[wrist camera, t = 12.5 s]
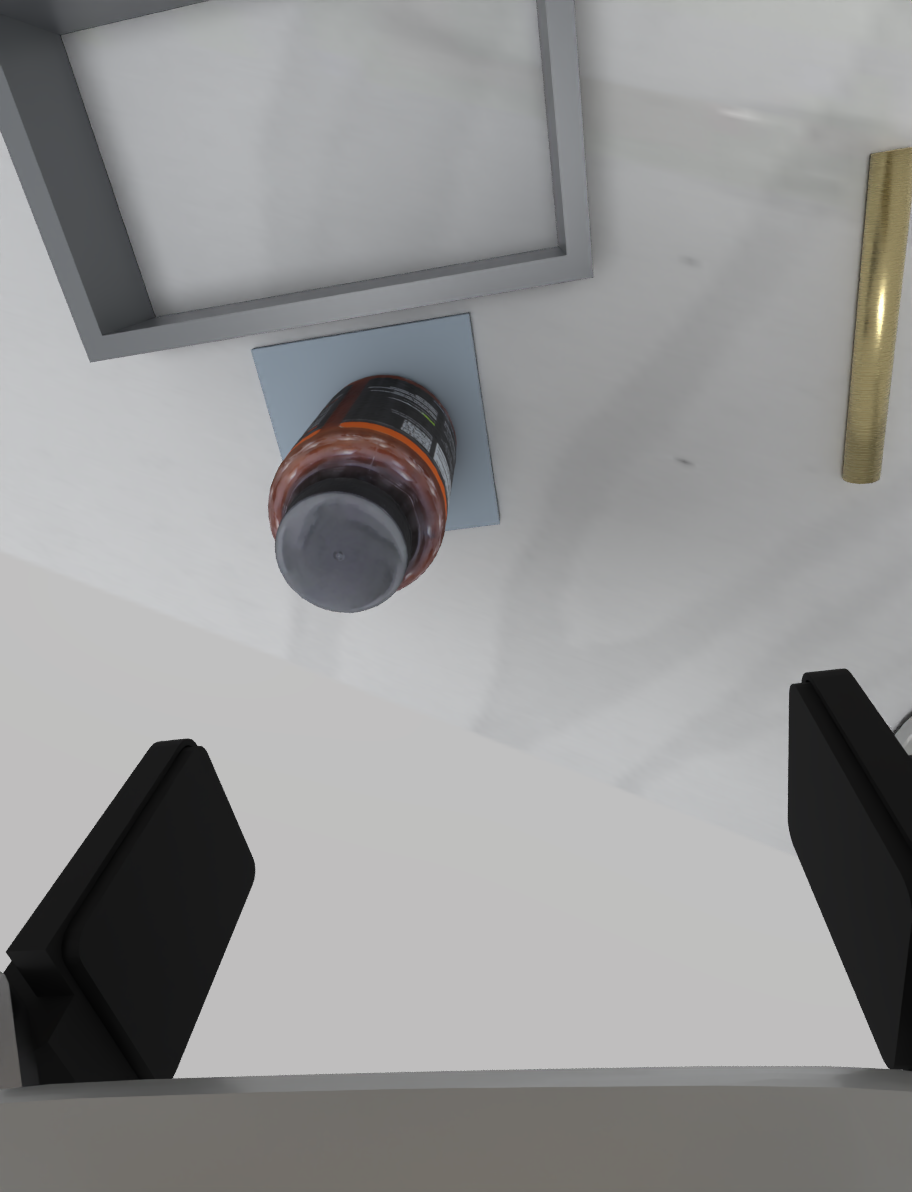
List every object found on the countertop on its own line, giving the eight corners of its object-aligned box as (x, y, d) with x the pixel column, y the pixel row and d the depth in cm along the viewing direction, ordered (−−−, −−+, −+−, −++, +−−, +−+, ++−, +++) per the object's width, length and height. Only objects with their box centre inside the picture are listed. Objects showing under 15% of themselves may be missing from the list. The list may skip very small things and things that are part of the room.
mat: (499, 520, 33) (499, 523, 33) (309, 544, 35) (307, 548, 34) (469, 312, 29) (468, 313, 29) (254, 348, 30) (251, 350, 30)
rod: (886, 474, 31) (870, 485, 30) (852, 469, 32) (836, 480, 31) (925, 144, 25) (906, 148, 25) (882, 151, 26) (863, 155, 26)
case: (581, 265, 28) (593, 277, 24) (135, 342, 30) (79, 364, 27) (552, -114, 23) (561, -178, 19) (18, 14, 25) (-72, -20, 21)
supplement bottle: (315, 494, 33) (233, 623, 23) (326, 358, 30) (238, 439, 20) (447, 517, 33) (422, 656, 23) (470, 385, 30) (453, 479, 20)
